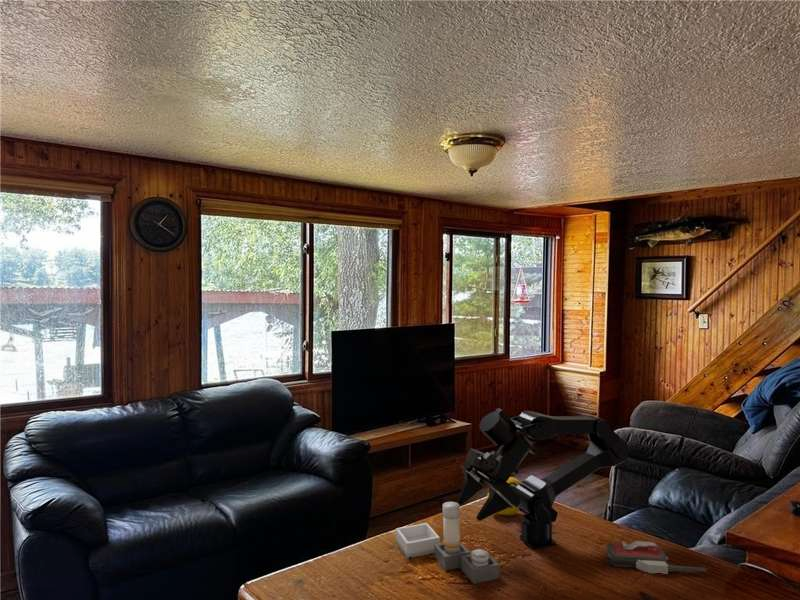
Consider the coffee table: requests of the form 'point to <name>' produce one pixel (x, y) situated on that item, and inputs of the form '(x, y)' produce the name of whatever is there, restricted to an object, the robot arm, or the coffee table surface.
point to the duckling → (513, 510)
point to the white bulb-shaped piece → (451, 528)
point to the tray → (416, 540)
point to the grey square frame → (449, 556)
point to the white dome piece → (479, 558)
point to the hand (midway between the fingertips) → (467, 511)
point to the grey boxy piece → (480, 570)
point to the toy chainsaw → (643, 557)
